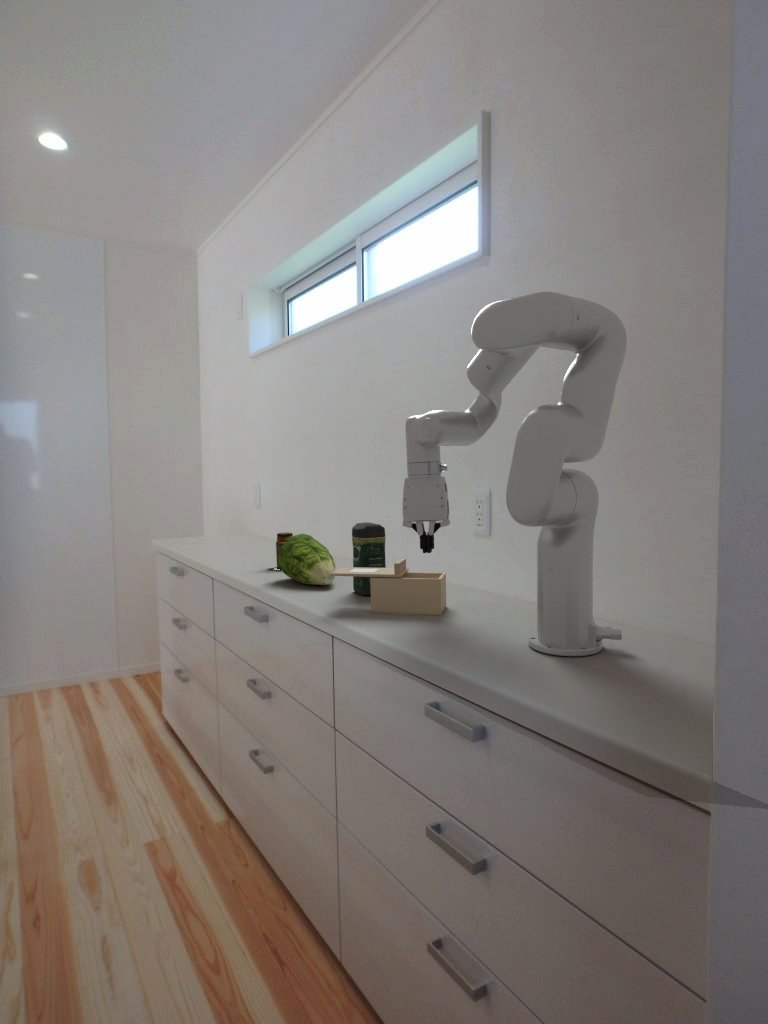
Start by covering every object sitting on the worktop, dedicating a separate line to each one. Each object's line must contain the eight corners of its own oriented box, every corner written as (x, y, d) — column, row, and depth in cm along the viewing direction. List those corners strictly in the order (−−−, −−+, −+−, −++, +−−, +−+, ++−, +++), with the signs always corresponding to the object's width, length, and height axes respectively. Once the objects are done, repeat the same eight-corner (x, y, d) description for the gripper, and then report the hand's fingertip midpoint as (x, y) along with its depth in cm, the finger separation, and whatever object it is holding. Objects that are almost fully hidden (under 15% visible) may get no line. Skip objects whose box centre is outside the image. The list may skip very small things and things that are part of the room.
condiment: (300, 568, 197) (299, 532, 196) (279, 572, 191) (277, 535, 190) (287, 566, 202) (286, 531, 201) (266, 569, 196) (265, 533, 195)
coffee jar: (391, 594, 152) (389, 523, 151) (362, 597, 149) (360, 524, 148) (376, 587, 161) (375, 520, 160) (349, 590, 158) (347, 522, 157)
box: (446, 606, 137) (445, 572, 137) (441, 615, 130) (440, 579, 129) (379, 604, 141) (379, 571, 141) (371, 612, 133) (370, 577, 133)
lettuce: (308, 607, 159) (304, 562, 155) (274, 577, 178) (270, 537, 174) (353, 593, 166) (351, 550, 162) (316, 566, 185) (313, 526, 181)
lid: (408, 570, 139) (408, 558, 139) (400, 577, 131) (400, 564, 131) (342, 569, 143) (342, 557, 143) (330, 575, 135) (330, 562, 135)
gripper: (459, 469, 134) (462, 549, 135) (395, 472, 137) (398, 551, 138) (455, 469, 126) (458, 554, 127) (387, 472, 130) (391, 555, 131)
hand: (427, 552), depth 133 cm, fingers closed
